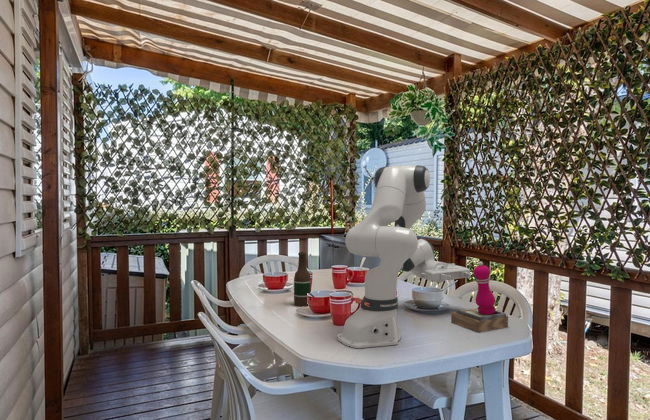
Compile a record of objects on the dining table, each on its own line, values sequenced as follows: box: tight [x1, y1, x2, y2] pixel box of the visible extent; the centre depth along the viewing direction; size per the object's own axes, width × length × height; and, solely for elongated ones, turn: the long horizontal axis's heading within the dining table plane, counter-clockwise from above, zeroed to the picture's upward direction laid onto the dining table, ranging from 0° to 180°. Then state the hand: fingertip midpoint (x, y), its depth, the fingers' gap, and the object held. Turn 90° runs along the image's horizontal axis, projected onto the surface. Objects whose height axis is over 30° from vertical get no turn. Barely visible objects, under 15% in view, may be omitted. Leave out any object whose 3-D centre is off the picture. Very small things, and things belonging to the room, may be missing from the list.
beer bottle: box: [293, 251, 312, 308], centre depth 200 cm, size 8×8×24 cm
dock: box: [450, 307, 509, 333], centre depth 169 cm, size 15×14×5 cm
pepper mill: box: [473, 261, 496, 315], centre depth 168 cm, size 7×7×20 cm
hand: (460, 277), depth 178 cm, fingers open, 8 cm apart
